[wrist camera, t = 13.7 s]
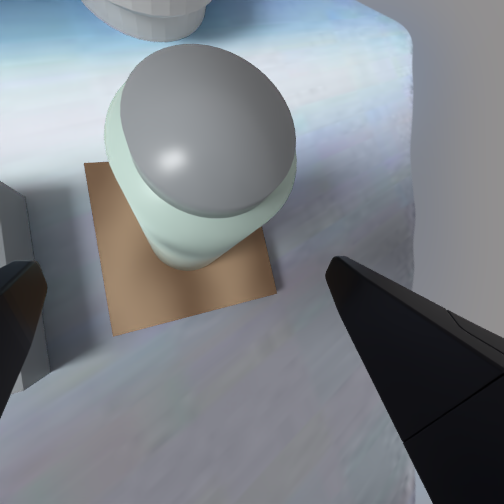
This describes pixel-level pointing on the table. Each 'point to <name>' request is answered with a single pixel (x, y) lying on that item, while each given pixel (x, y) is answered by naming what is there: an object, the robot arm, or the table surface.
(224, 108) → the grey-lidded mint jar
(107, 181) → the walnut pad
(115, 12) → the flag stand
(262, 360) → the table surface
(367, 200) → the table surface
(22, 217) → the grey square tray
